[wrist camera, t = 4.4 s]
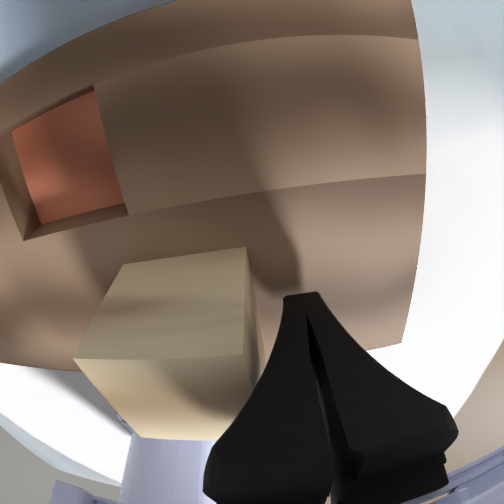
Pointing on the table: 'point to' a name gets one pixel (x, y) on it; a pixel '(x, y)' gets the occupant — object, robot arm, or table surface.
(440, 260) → the table surface
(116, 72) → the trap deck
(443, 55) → the table surface
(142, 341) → the pine block
